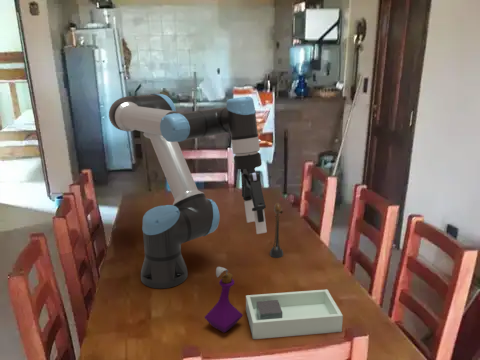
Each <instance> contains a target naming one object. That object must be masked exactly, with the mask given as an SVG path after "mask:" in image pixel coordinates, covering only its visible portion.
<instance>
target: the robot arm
mask: <svg viewBox="0 0 480 360" xmlns="http://www.w3.org/2000/svg"><path fill="white" fill-rule="evenodd" d="M176 109H177V108H176V106H175V104H174V102H173V100H172V99H171V98H170V97H169V96H168V95H166V94H163V93H150V94H145V95H144V94H143V95H130V96H129V95H128V96H123V97H120V98H118V99H117V100H115V101H114V102H113V103H112V104H111V106H110V108H109V110H108V118H109V122H110V123H111V124H112V126H113V127H114V128H116V130H117V129H118V130H120V131H123V132H133V131H138V132H142V135H143V136H144V137H145V138H147V139H150V142H151V146H152V147H153V149H154V152H155V154H156V158H157V160H158V163H159V165H160V166H161V169H162V172H163V174H164V176H165V180H166V181H167V184H168V187H169V190H170V192H171V194H172V196H173V199H174V201H173V203H172V204H166V205H163V204H162V205H158V206H154V207H152V208H150V209H148V210H147V211H146V212H145V213H144V214H143V217H142V227H141V229H142V230H141V231H142V235H143V246H144V247H143V249H144V260H143V263H142V267H141V269H140V280H141V283H142V284H143V285H144V286H147V287H149V288H151V289H152V288H153V289H169V288H174V287H176V286H179V285H181V284H183V283H184V282H185V281H186V280H187V278H188V268H187V264H186V262H185V259H184V258H183V255H182V244H185V243H187V242H190V241H192V240H196V239H199V238H201V237H206V236H208V235H210V234H211V233H214V232H215V231H216V230H217V229H218V227H219V226H220V225H219V223H220V220H221V219H220V211H219V207H218V205H217V203H216V202H215V201H214V200H213V199H211V198H207V197H206V194H205V192H203V191H200V190H199V189H198V187H197V184H196V182H195V179H194V177H193V176H192V173H191V171H190V168H189V166H188V163H187V161H186V158H185V155H184V154H183V152H182V148H181V147H180V142H184V141H188V140H193V139H199V138H205V137H212V136H218V135H224V134H225V135H226V134H230V141H231V148H232V154H234V157H233V162H234V168H235V169H236V170H239V171H240V175H241V176H240V178H241V180H240V181H241V197H242V198H243V204H244V211H245V218H246V219H245V220H246V223H252V222H254V223H255V230H256V231H255V233H256V235H260V234H265V233H267V232H268V231H267V224H266V222H267V220H266V216H265V215H266V214H265V209H266V207H267V206H266V203H265V198H264V194H263V189H262V185H261V181H260V173H259V172H256V168H259V167H261V166H262V165H263V164H262V163H263V162H262V156H261V153H260V152H259V151H260V144H261V143H262V141H261V139H259V132H258V125H257V116H256V113H257V112H256V111H257V110H256V108H255V103H254V99H253V97H251V96H242V97H234V98H229V99H227V100H226V106H225V107H224V106H223V107H218V108H217V107H216V108H215V107H214V108H209V109H202V110H195V111H194V110H193V111H177V110H176Z"/></svg>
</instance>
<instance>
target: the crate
mask: <svg viewBox="0 0 480 360" xmlns="http://www.w3.org/2000/svg"><path fill="white" fill-rule="evenodd" d="M271 300H278V302H279V305H280V307H281V310H282V318H278V319H266V320H258V318H257V314H256V311H257V302H258V301H271ZM245 312H246V316H247V322H248V324H249V328H250V333H251V337H252V340H260V339H271V338H273V339H274V338H283V337H284V338H285V337H295V336H296V337H297V336H307V335H308V336H309V335H318V334H319V335H320V334H330V333H331V334H332V333H342V331H343V321H344V319H343V318H344V315H343V314H342V312H341V310H340V307H339V306H338V304H337V303H336V302H335V300H334V298H333V296H332V295H331V293H330V291H329V289H327V288H326V289H316V290H315V289H314V290H313V289H312V290H302V291H301V290H300V291H299V290H298V291H287V292H276V293H275V292H274V293H262V294H261V293H259V294H250V295H249V294H247V295H245Z"/></svg>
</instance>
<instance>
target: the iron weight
mask: <svg viewBox="0 0 480 360" xmlns="http://www.w3.org/2000/svg"><path fill="white" fill-rule="evenodd" d="M256 314H257V318H258V320H266V319H278V318H282V310H281V307H280V305H279V302H278V300H271V301H258V302H257V311H256Z"/></svg>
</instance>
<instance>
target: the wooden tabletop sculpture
mask: <svg viewBox="0 0 480 360" xmlns="http://www.w3.org/2000/svg"><path fill="white" fill-rule="evenodd" d="M273 212H274V213H275V214H276V215H275V216H274V217H275V228H274V232H275V233H274V241H273V247H272V248H271V249H270V250H269V255H270V257H271V258H274V259H280V258H283V256H284V251H283V249H282V248H281V244H280V242H281V241H280V217H281V216H280V214H281V215H282V214H283V213H284V211H283V209H282V205H281V204H280V203H279V202H276V203H275V204H274V206H273Z"/></svg>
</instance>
